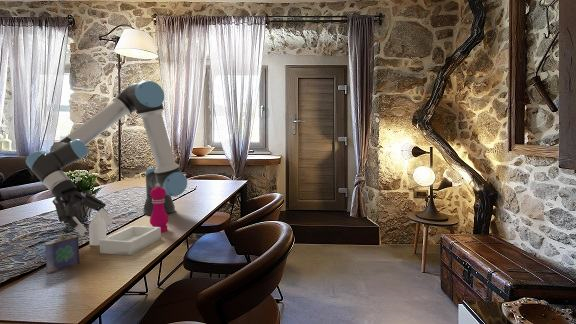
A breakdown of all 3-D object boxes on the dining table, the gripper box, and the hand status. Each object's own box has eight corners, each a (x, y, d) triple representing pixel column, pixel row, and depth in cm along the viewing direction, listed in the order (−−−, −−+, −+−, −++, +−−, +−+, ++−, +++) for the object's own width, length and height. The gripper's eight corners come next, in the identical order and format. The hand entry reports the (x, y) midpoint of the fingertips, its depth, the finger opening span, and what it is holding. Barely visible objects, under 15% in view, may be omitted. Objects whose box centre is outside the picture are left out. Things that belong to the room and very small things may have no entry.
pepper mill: (162, 234, 137) (160, 185, 135) (146, 232, 138) (144, 184, 136) (172, 228, 144) (170, 182, 142) (156, 227, 145) (154, 181, 143)
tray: (133, 236, 133) (132, 225, 133) (160, 238, 131) (160, 227, 131) (100, 253, 115) (99, 240, 115) (131, 255, 113) (131, 242, 113)
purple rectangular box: (49, 274, 98) (46, 238, 97) (44, 272, 100) (41, 237, 99) (81, 263, 106) (79, 230, 105) (76, 261, 108) (74, 229, 107)
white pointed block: (87, 210, 126) (104, 208, 129) (89, 242, 127) (106, 239, 130) (88, 214, 121) (105, 212, 123) (89, 246, 122) (107, 244, 125)
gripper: (81, 187, 139) (115, 224, 138) (23, 199, 114) (64, 245, 113) (91, 174, 137) (126, 212, 136) (35, 184, 113) (77, 230, 112)
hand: (98, 227), depth 125 cm, fingers open, 13 cm apart
